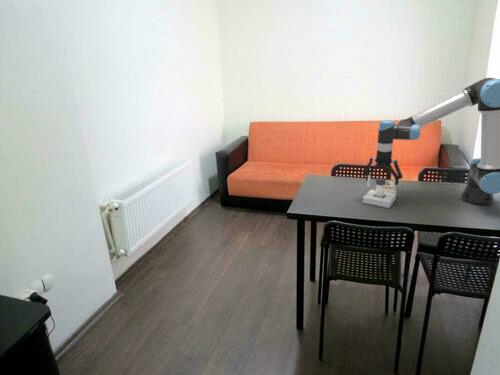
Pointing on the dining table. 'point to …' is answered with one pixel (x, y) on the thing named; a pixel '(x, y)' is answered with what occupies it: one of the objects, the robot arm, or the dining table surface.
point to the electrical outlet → (389, 187)
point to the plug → (380, 188)
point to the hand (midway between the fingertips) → (381, 188)
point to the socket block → (379, 199)
